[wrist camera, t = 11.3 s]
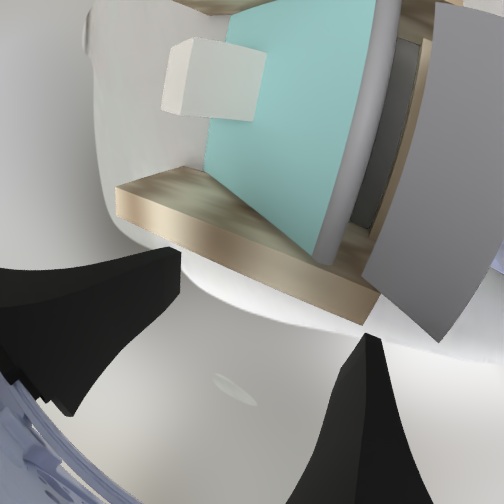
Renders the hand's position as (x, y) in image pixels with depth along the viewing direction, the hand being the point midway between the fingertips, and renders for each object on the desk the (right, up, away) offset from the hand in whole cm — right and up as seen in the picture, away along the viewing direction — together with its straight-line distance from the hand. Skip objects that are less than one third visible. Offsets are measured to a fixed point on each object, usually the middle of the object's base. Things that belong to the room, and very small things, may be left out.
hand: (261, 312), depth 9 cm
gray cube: (-1, +12, +4) cm, 12 cm away
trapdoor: (+5, +9, +2) cm, 10 cm away
